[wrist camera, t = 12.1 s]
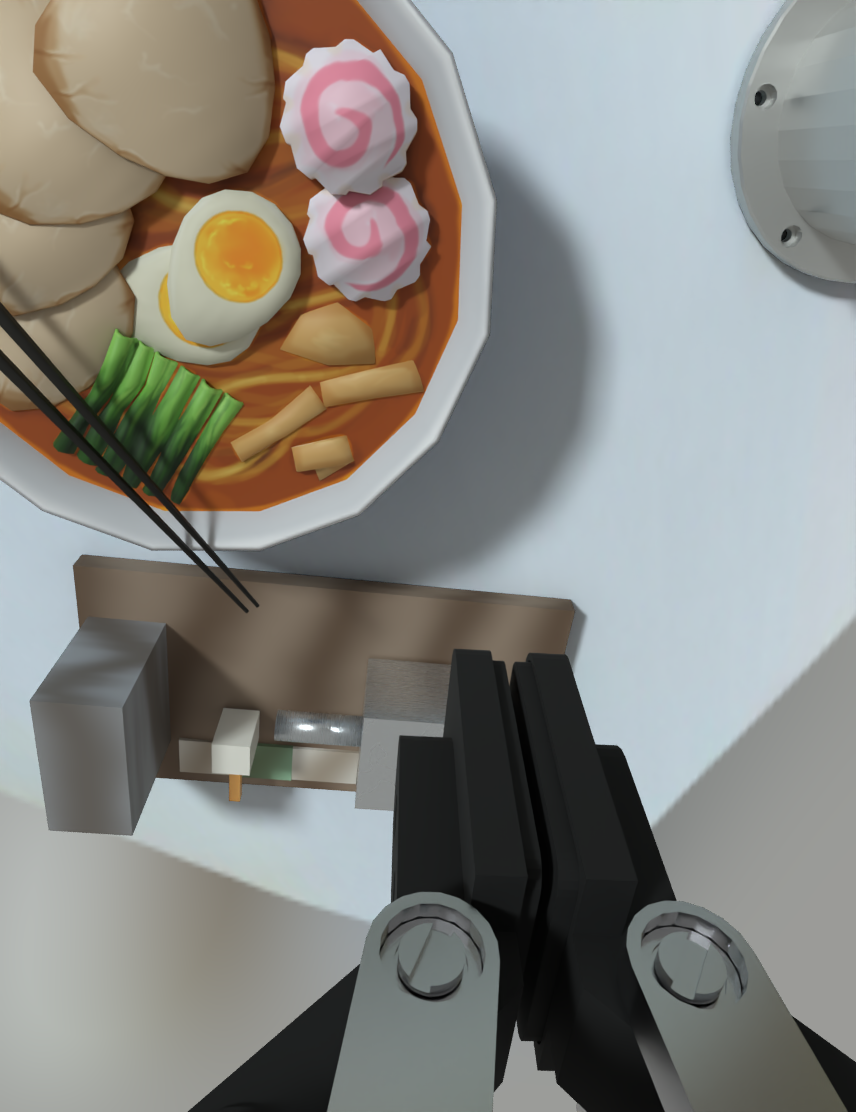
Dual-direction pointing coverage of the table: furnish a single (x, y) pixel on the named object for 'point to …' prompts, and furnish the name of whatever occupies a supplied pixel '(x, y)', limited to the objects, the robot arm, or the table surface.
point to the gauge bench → (238, 673)
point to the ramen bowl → (232, 262)
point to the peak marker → (235, 746)
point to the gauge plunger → (378, 723)
